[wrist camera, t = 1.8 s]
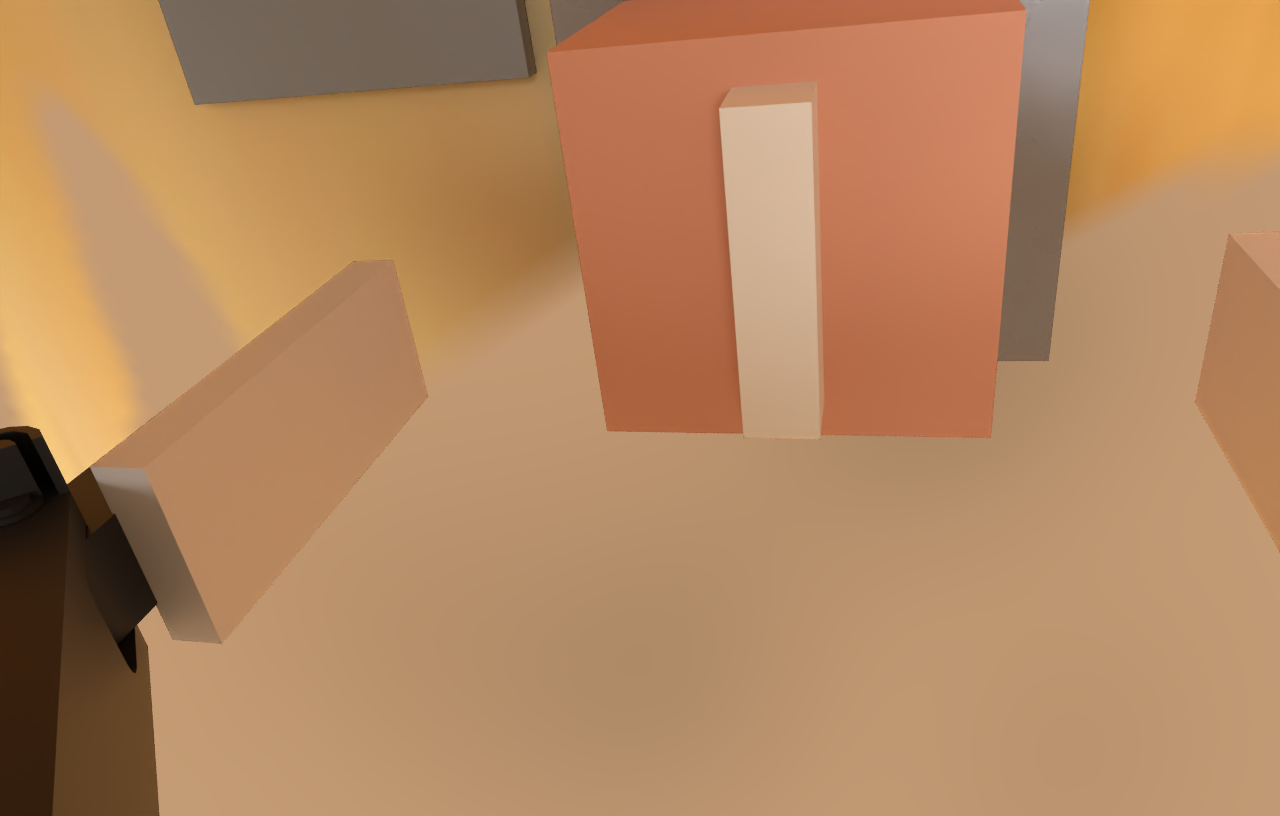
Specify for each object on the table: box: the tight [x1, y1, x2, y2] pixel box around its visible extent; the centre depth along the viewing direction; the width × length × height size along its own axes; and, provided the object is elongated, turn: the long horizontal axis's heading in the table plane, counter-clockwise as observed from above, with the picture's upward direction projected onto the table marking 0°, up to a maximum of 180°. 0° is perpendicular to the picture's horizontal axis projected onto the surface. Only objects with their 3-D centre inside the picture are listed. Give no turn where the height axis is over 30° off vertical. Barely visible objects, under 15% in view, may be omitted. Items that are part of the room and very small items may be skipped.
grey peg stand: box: [550, 0, 1090, 361], centre depth 21 cm, size 12×12×7 cm
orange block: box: [546, 0, 1026, 439], centre depth 19 cm, size 8×8×7 cm
